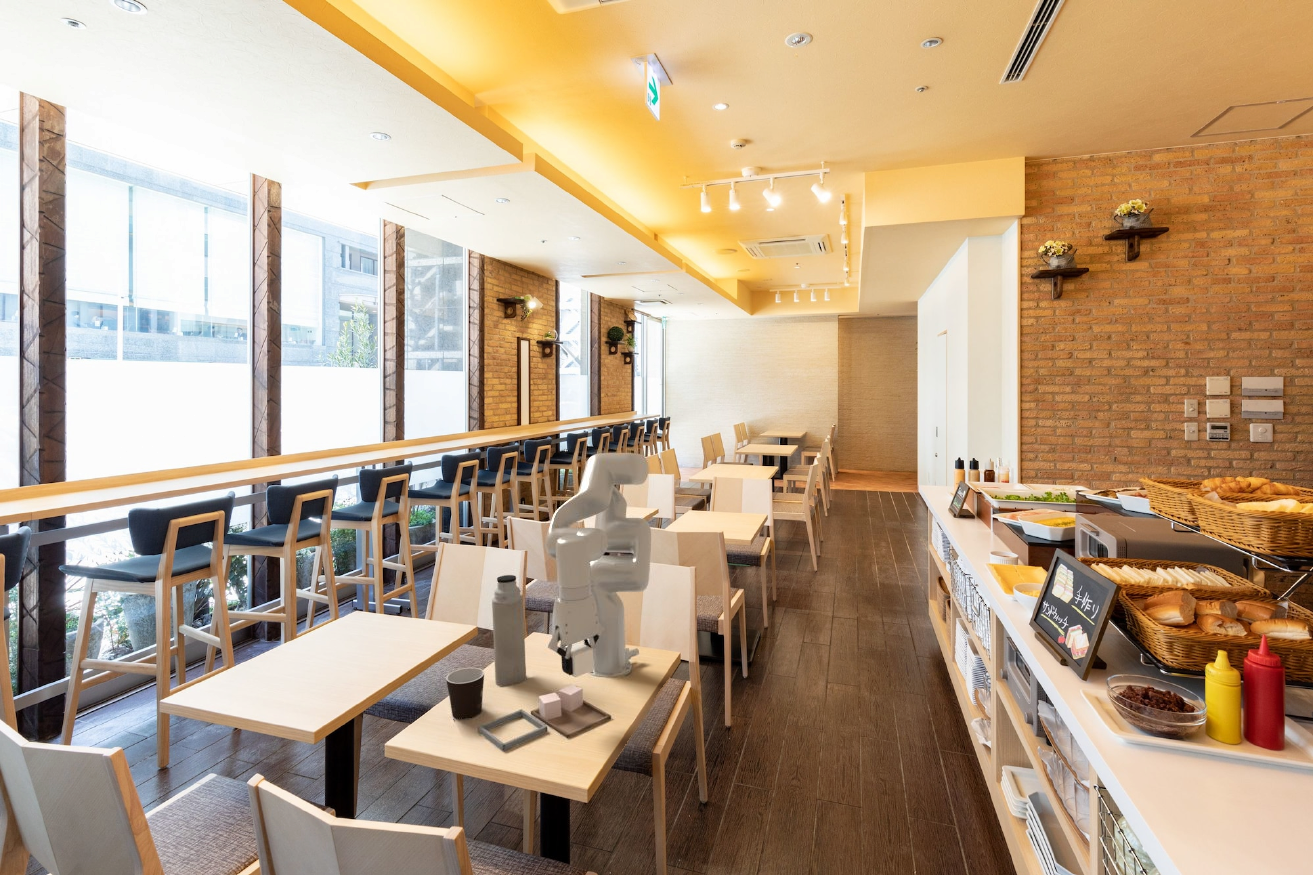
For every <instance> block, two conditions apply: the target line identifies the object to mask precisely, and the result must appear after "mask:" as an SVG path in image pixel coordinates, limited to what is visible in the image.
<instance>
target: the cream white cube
mask: <svg viewBox="0 0 1313 875" xmlns="http://www.w3.org/2000/svg"><path fill="white" fill-rule="evenodd" d="M565 650H566V647H565ZM570 657H571V658H572V665H573V674H572V675H571V676H572V677H574V678H578V677H580V676H582V675H585V674H589V673H588V672H590V671H593V670H594V663H593V649H592V648H590V647H588V646H586V645H584V643H582V642H577V643H575V644H572V648H571V654H570Z"/></svg>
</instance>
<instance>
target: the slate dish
mask: <svg viewBox="0 0 1313 875" xmlns="http://www.w3.org/2000/svg"><path fill="white" fill-rule="evenodd" d="M520 717H521V718H522V719H524V720H526V721H527V722H529V723H530V724H532V725H533V726H535V727H536V729H534V730H532V731H530V732H527V733H524V734H522V735H520V736H517V737H516V738H513V739H511V740H508V741H506V742H504V743H503V741H502V740H501V739H499V738H498V737H496V736H495V735H493V734H492V733H491V732H490V731H489V730H490V729H493V728H495V727H497V726H500V725H503V724H506V723H507V722H510V721H512V720H516V719H518V718H520ZM477 733H479V734H480V735H481V736H482V737H484V739H487V740H488V741H489V742H490V743H491V744H493V745H494V746H495V747H497V748H498V749H499V750H501V752H505V751H507V750H509V749H512V748H514V747H516V746H518V745H521V744H522V743H525V742H527V741H531V740H532V739H535V738H537V737H538V736H541V735H543V734H546V733H548V725H546V724H545V723H543V722H542V721H540V720H539V719H537V718H536V717H534V716H532V715H531V713H528V712H527V711H525V710H523V709H522V708H521V709H518V710H516V711H513V712H511V713H508V714H506V715H503V716H501V717H498V718H497V719H494V720H491V721H488V722H486V723H483V724H480V725H479V726H477Z"/></svg>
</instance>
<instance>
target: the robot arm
mask: <svg viewBox="0 0 1313 875" xmlns="http://www.w3.org/2000/svg"><path fill="white" fill-rule="evenodd" d="M648 475H649V463H648V460H647V458H646V457H645V456H644V454H641V453H633V452H602V453H599V452H598V453H596V454H593V455H591V456H590V457H589V458H588V459H587V461H586V463H585V467H584V471H583V474H582V477H581V481H580V485H579V488H578V492H577V493H576V494H575V495H574V496H572V497H570V498H569V499H568V500H567V501H566V502H564V503H563V504H562V505H561V506H560V507H558V508H557V510H555V512H554V514H553V515H552V517H551V520H550V523H549V527H548V529H547V533H546V537H545V551H546V554H547V555H548V557H549V558H551V559H553V560H556V562H555V563H556V579H557V598H555V599H554V601H553V602H554V603H553V608H552V622H551V624H552V625H551V635H552V637H551V639H550V641H549V643H548V645H547V648H548V649H549V650H551V651H553V652H555V653H556V654H558V655H559V656H561V670H562V672H564V673H565V674H567V675H569V676H572V674H573V665H572V658H571V657H570V654H571V648H572V645H574V644H577V643H581V642H583V644H584V645H586V646H588V647H590V648H592V649H593V663H594V670H593V671H590V672H588V673H587V674H589V675H590V676H594V677H598V678H612V677H618V676H627V675H628V674H629V673H630V672H631V671H632V667H633V666H632V663H631V662H630V660H631V658H633V657H636V656H638V655H639V654H640V650H639V648H637V647H635V648H632V649H630V648H629V647H626V628H625V626H626V625H625V622H626V621H625V620H626V619H625V605H624V602H623V601H622V599H621V597H620V596H619V594H618V593H640V592H643V591H645V590H646V589H647V588H648V586H649V581H650V570H651V552H652V530H651V525H650V523H649V522H648V521H647V519H645V518H642V517H641V518H640V517H627V508H628V507H627V506H628V504H627V500H626V498H625V497H624V495H623V494H622V493H621V491H620V490H619V489H617V487H616V486H617V485H620V486H621V485H622V486H623V485H629V486H630V485H631V486H632V485H633V486H637V485H643V484H644V483H646V480H647V478H648ZM593 516H594V517H595V521H594V527H571V526H572V525H574V524H576V523H577V522H581V521H582V520H585V519H588V518H591V517H593ZM605 553H631V554H633V555H605ZM559 643H560V644H559ZM558 645H559V646H558ZM565 648H566V650H565Z"/></svg>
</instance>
